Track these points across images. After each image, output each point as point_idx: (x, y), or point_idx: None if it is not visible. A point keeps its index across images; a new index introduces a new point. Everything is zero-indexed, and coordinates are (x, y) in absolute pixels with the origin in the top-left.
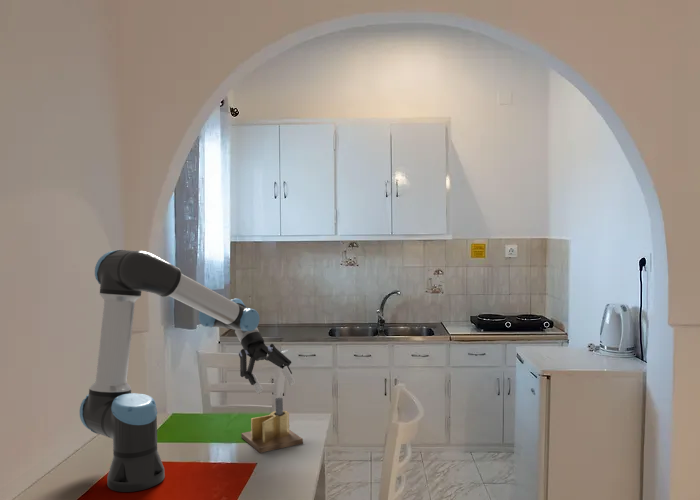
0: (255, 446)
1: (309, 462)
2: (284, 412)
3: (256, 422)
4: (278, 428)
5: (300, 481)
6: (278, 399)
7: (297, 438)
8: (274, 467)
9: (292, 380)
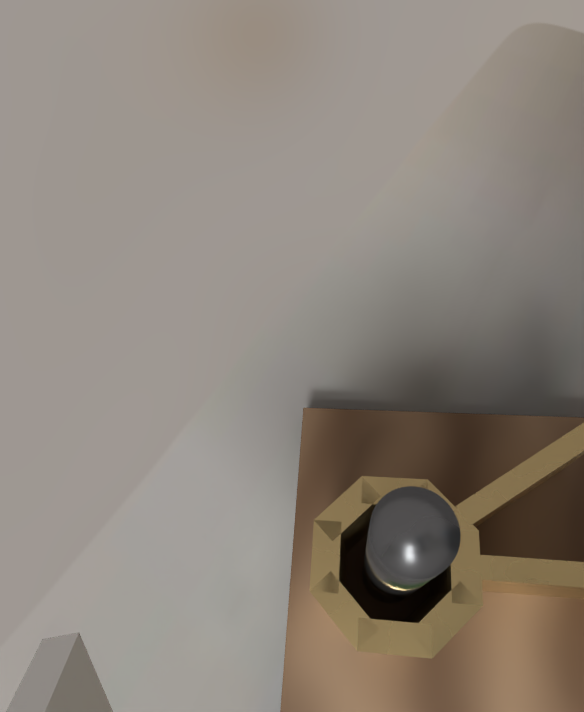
0: None
1: (397, 210)
2: (339, 565)
3: None
4: None
5: (513, 92)
6: (428, 513)
7: (327, 429)
8: (568, 236)
9: (71, 666)
